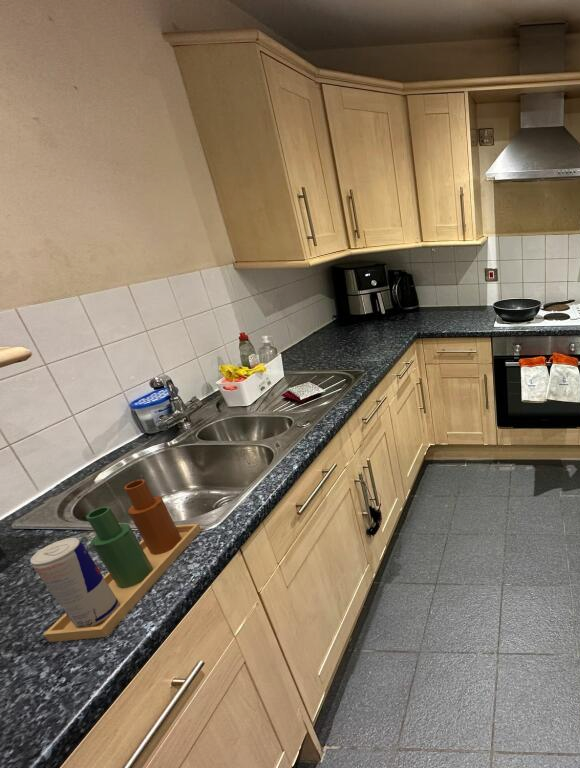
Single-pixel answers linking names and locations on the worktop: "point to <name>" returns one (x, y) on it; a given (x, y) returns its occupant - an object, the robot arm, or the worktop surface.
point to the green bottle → (118, 549)
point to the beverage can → (75, 582)
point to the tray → (124, 592)
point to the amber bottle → (152, 518)
